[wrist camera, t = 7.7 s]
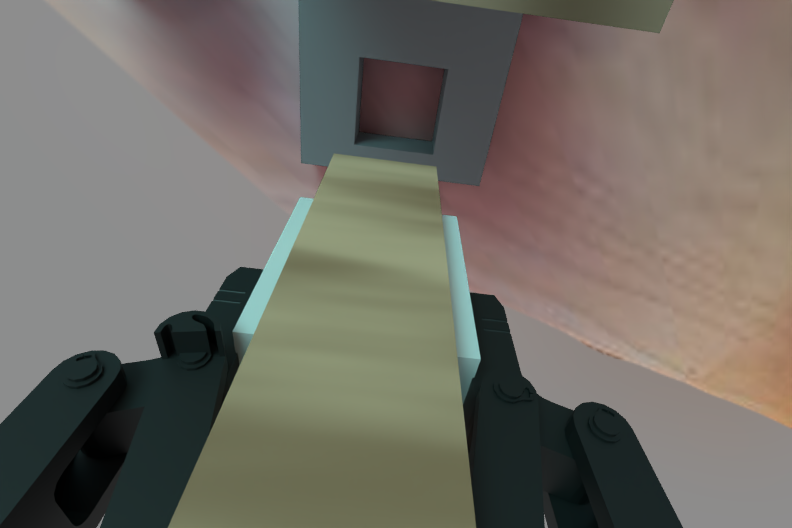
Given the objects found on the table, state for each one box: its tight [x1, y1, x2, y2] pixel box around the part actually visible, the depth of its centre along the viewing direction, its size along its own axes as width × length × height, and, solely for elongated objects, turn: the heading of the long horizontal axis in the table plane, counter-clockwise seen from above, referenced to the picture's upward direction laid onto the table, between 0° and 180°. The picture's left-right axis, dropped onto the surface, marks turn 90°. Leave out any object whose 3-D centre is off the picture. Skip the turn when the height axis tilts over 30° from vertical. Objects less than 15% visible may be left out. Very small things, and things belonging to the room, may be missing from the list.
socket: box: [299, 0, 523, 186], centre depth 29 cm, size 14×14×3 cm
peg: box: [168, 153, 476, 528], centre depth 11 cm, size 4×4×14 cm
